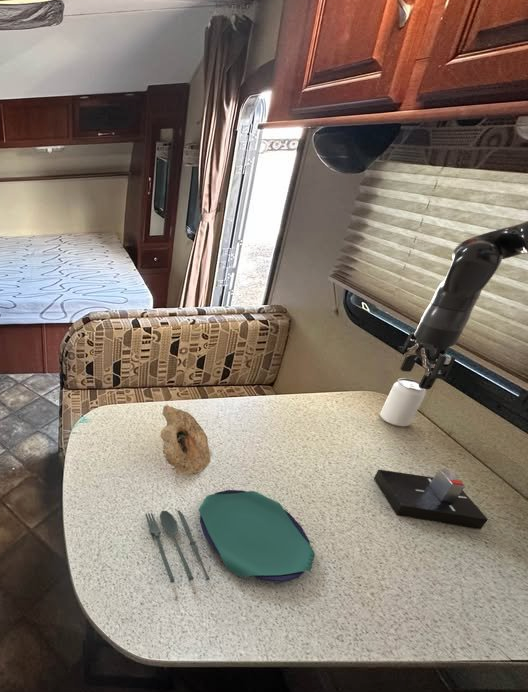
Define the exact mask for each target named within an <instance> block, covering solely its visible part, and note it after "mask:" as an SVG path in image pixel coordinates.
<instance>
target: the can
mask: <svg viewBox="0 0 528 692" xmlns="http://www.w3.org/2000/svg"><path fill="white" fill-rule="evenodd" d="M420 382H421V381H418V380H415V379H411V378H405V377H402V378H398V379H397V381H395V382H394V383H393V385H392V386H391V389H390V392H389V393H388V395H387V398H386V399H385V402H384V404H383V406H382V408H381V410H380V413H379V416H380V418H381V419H382V420H383V422H386V423H388V424H390V425H392V426H397V427H402V428H404V427H408V426H411V424H412V421H413V419H414V418H415V416H416V414H417V412H418V410H419V408H420V406H421V404H422V403H423V401H424V399H425V396H426V395H427V391H426V389H421V388H420V387H419V384H420Z"/></svg>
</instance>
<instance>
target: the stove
mask: <svg viewBox="0 0 528 692" xmlns="http://www.w3.org/2000/svg"><path fill="white" fill-rule="evenodd" d="M433 478H434V476H426V475H420V474H413V473H405V472H399V471H392V470H386V469H385V470H384V469H380V468H379V469H377V471H376V473H375V475H374V477H373V481H374V482H375V483H376V486H378V488H379V490H380V491H381V493H382V495H383V496H384V498H385V499H386V501H387V502H388V504H389V506H390V507H391V509H392V510H393V512H394V513H395V515H396V516H400V517H404V518H406V517H407V518H412V519H417V520H423V521H428V520H429V521H430V522H434V521H436V522H435V523H440V522H441V524H446V525H453V526H459V527H465V528H470V529H476V530H482V529H483V527H484V526H485V524H486V523H488V521H489V519H488V517H487V516H486V515H485V514H484V513H483V512H482V511H481V509H480V508H479V507H478V506H477V505H476V504H475V502H474V501H473V500H472V499H471V497H469V495H467V493H466V492H465V491H464V489H463V490H462V492H461V493H460V495H459V496H458V497H457V499H456V500H455V502H454V503H447V502H441V500H440V499H439V498H438V496H437V495H436V494H435V492H434V491H433V490H432V488H431V487H430V486H429V484H430V483H431V481H432V479H433ZM429 521H428V522H429Z"/></svg>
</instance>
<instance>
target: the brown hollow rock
mask: <svg viewBox="0 0 528 692" xmlns="http://www.w3.org/2000/svg"><path fill="white" fill-rule="evenodd" d="M162 416H163V417H164V419H165V421H166V425H165V426H164V427H163V428H162V429H161V431H160V438H161V440H162V441H163V445H162V449H163V450H162V453H163V454H164V459H165V461H166V462H167V464H169V465H170V466H172V468H171V470H172V471H174V470H175V472H180V473H185V474H188V475H192V474H191V473H200V472H202V471H203V470H205V468H207V467H208V466H209V464H210V461H211V454H210V446H209V440H208V439H209V438H208V436H207V434H206V433H205V430H204V429H203V428H202V427H201V424H199V422H198V421H197V420H196V419H195V417H194V416H193V415H192V414H191V413H190V412H187V411H184V410H182V409H180V408H175V407H174V406H170V405H168V404H166V405H164V406H163V408H162Z"/></svg>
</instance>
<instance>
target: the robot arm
mask: <svg viewBox="0 0 528 692" xmlns="http://www.w3.org/2000/svg"><path fill="white" fill-rule="evenodd" d="M526 254H527V255H528V220H526V221H524V222H522V223H519V224H516V225H512V226H507V227H504V228H500V229H496V230H493V231H489V232H486V233H485V232H484V233H482V234H478V235H476V236H472V237H470V238H468V239H466V240H463V241H462V242H460V243H459V244H458V245H457V246H455V248H454V249H453V251H452V254H451V258H452V261H451V265H450V267H449V270H448V272H447V274H446V276H445V279H444V280H443V281H442V282H440V284H439V286H438V287H437V289H436V291H435V293H434V295H433V297H432V299H431V301H430V303H429V304H428V306H427V308H426V309H425V310H424V313H423V315H422V316H421V318H420V321H419V324H418V325H417V328H416V330H415V332H410V333H409V334H408V336H407V338H406V340H405V342H404V344H403V346H402V348H401V349H400V350H401V353H404V354H403V357H404V359H403V361H402V364H401V366H400V368H399V369H400V370H401V371H402V372H407V373H408V372H412V370H413V369H414V366H415V364H416V363H417V359H420V361H421V366H422V367H423V368H424V374H423V376H422V378H421V380H420V381H419V382H420V384H419V387H420V388H421V389H425V390H431V388H432V387H433V386H434V384H435V382H436V380H437V379H440V380H446V379H447V377H448V375H449V373H450V372H451V369H452V367H453V365H454V363H455V361H456V356H450V355H447V349H448V348H450V347H454V346H456V344H457V342H458V340H459V338H460V337H461V335H462V333H463V331H464V330H465V327H466V326H467V324H468V322H469V320H470V317H471V314H472V312H473V309H474V307H475V306H476V304H477V303H478V300H479V298H480V296H481V293H482V291H483V289H484V288H485V287H486V286H487V284H488V283H489V282H490V280H491V279H492V278H493V276H494V275H495V274H496V272H497V270H498V269H499V267H500V266H501V263H502V260H507V259H509V258H514V257H517V256H519V255H526ZM410 346H411V347H410ZM409 347H410V348H409ZM432 368H433V369H432ZM431 369H432V370H431Z"/></svg>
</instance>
